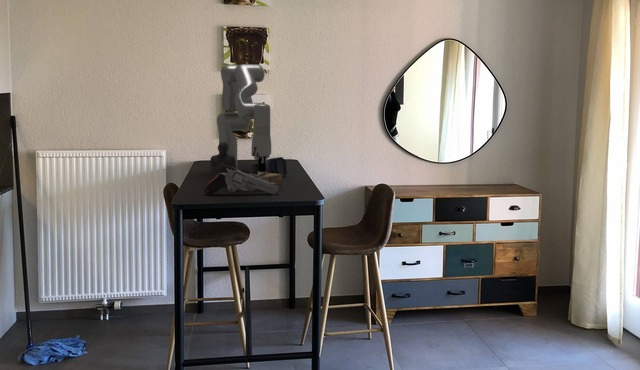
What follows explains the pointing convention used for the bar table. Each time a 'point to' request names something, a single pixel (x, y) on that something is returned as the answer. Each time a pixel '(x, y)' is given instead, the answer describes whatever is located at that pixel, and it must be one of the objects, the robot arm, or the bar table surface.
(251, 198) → the bar table surface
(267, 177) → the wooden latch block
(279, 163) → the rock
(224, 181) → the revolver
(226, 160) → the figurine
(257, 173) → the bar
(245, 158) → the bar table surface
